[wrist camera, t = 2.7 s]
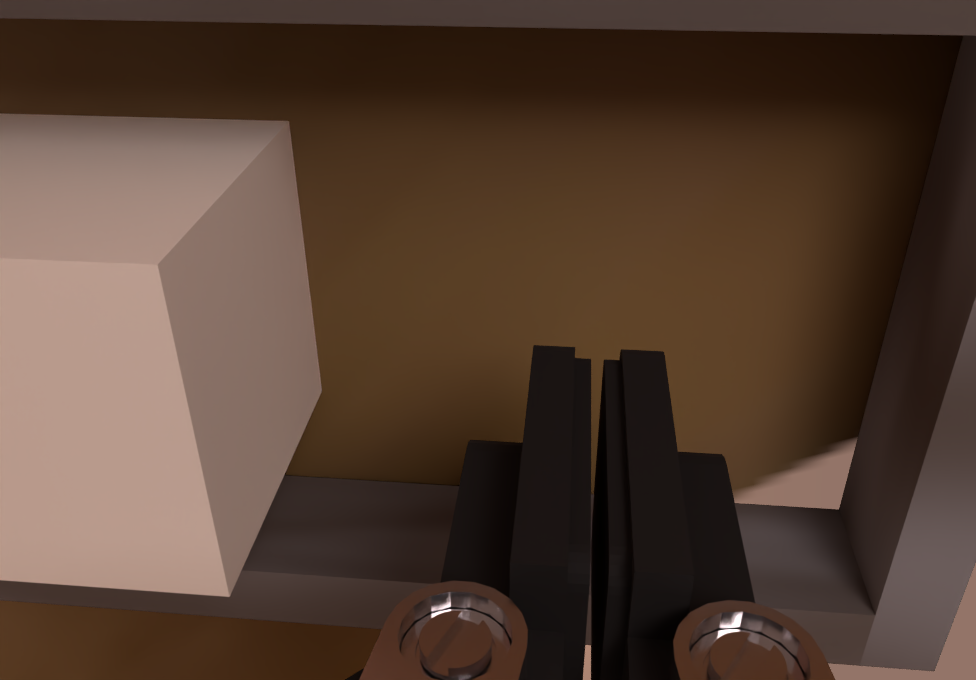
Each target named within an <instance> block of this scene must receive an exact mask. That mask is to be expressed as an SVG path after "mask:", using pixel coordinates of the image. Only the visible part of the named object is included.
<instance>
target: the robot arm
mask: <svg viewBox="0 0 976 680" xmlns="http://www.w3.org/2000/svg"><path fill="white" fill-rule="evenodd" d="M590 564H591V680H835V678H834V676H833V674H832V672H831V669H830V667H829V665H828V663H827V661H826V659H825V656H824V654H823V652H822V651H821V649H820V648H819V646H818V645H817V643H816V642H815V640H814V639H813V637H812V636H811V635H810V634H809V633H808V632H807V631H806V630H805V629H803V628H802V627H801V626H800V625H799V624H798V623H797V622H796V621H794V620H793V619H791V618H789V617H787V616H786V615H784V614H782V613H780V612H778V611H777V610H775V609H773V608H769V607H766V606H763V605H759V604H756V603H755V599H754V594H753V589H752V584H751V579H750V575H749V570H748V565H747V560H746V555H745V551H744V546H743V541H742V536H741V531H740V527H739V522H738V517H737V512H736V507H735V503H734V498H733V493H732V488H731V483H730V479H729V474H728V469H727V464H726V461H725V458H724V456H723V455H722V454H706V453H689V452H678V451H677V443H676V436H675V428H674V421H673V414H672V406H671V399H670V392H669V384H668V377H667V369H666V362H665V355H664V352H663V351H642V350H622V349H621V352H620V360H604V365H603V377H602V391H601V405H600V419H599V432H598V446H597V460H596V473H595V487H594V501H593V515H592V533H591V359H581V358H575V347H559V346H539V345H534V347H533V355H532V364H531V374H530V383H529V392H528V401H527V410H526V419H525V429H524V438H523V443H515V442H498V441H481V440H470V441H469V442H468V446H467V449H466V454H465V459H464V465H463V470H462V475H461V480H460V485H459V490H458V495H457V500H456V505H455V510H454V515H453V520H452V525H451V531H450V536H449V541H448V546H447V551H446V556H445V561H444V566H443V571H442V576H441V581H440V583H436V584H431V585H429V586H426V587H424V588H421V589H419V590H417V591H414V592H412V593H411V594H410V595H408V596H407V597H406V598H405V599H403V600H402V601H401V602H400V603H398V604H397V605H396V607H395V608H394V609H393V611H392V612H391V614H390V615H389V617H388V618H387V620H386V622H385V624H384V626H383V628H382V630H381V633H380V635H379V637H378V639H377V641H376V644H375V646H374V648H373V650H372V652H371V655H370V657H369V659H368V661H367V663H366V666H365V668H363V669H362V670H360V671H358V672H357V673H355V674H354V675H352V676H350V677H349V678H347V679H345V680H583V667H584V654H585V641H586V627H587V614H588V600H589V586H590Z"/></svg>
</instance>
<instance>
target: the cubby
mask: <svg viewBox="0 0 976 680" xmlns="http://www.w3.org/2000/svg"><path fill="white" fill-rule="evenodd" d="M0 18H14V19H70V20H127V21H183V22H239V23H295V24H352V25H408V26H464V27H521V28H577V29H633V30H690V31H746V32H802V33H858V34H915V35H963V38H962V42H961V46H960V50H959V53H958V57H957V61H956V65H955V69H954V72H953V76H952V80H951V84H950V88H949V92H948V95H947V99H946V103H945V107H944V111H943V115H942V118H941V122H940V126H939V130H938V134H937V137H936V141H935V145H934V149H933V153H932V157H931V160H930V164H929V168H928V172H927V176H926V179H925V183H924V187H923V191H922V195H921V199H920V202H919V206H918V210H917V214H916V218H915V222H914V225H913V229H912V233H911V237H910V241H909V244H908V248H907V252H906V256H905V260H904V264H903V267H902V271H901V275H900V279H899V283H898V286H897V290H896V294H895V298H894V302H893V306H892V309H891V313H890V317H889V321H888V325H887V329H886V332H885V336H884V340H883V344H882V348H881V351H880V355H879V359H878V363H877V367H876V371H875V374H874V378H873V382H872V386H871V390H870V393H869V397H868V401H867V405H866V409H865V413H864V416H863V420H862V424H861V428H860V432H859V435H858V439H857V443H856V447H855V451H854V455H853V459H852V462H851V467H850V470H849V474H848V478H847V481H846V485H845V489H844V493H843V497H842V500H841V504H840V508H839V510H835V509H820V508H803V507H787V506H771V505H755V504H739V503H735V507H736V512H737V517H738V522H739V527H740V531H741V536H742V541H743V546H744V551H745V555H746V560H747V565H748V570H749V575H750V579H751V584H752V589H753V594H754V599H755V603H756V604H759V605H763V606H766V607H769V608H773V609H775V610H777V611H778V612H780V613H782V614H784V615H786V616H787V617H789V618H791V619H793V620H794V621H796V622H797V623H798V624H799V625H800V626H801V627H802V628H803V629H805V630H806V631H807V632H808V633H809V634H810V635H811V636H812V637H813V639H814V640H815V642H816V643H817V645H818V646H819V648H820V649H821V651H822V652H823V654H824V656H825V659H826V661H827V663H833V664H847V665H859V666H872V667H885V668H899V669H911V670H925V671H935V668H936V665H937V663H938V660H939V657H940V655H941V652H942V649H943V647H944V644H945V642H946V639H947V636H948V633H949V631H950V629H951V626H952V623H953V620H954V618H955V615H956V613H957V610H958V607H959V605H960V602H961V600H962V597H963V594H964V592H965V589H966V586H967V584H968V581H969V578H970V576H971V573H972V571H973V568H974V566H975V563H976V0H0ZM458 490H459V486H448V485H432V484H416V483H399V482H383V481H367V480H351V479H335V478H319V477H302V476H286V475H284V477H283V479H282V481H281V483H280V486H279V488H278V490H277V492H276V495H275V497H274V499H273V501H272V504H271V506H270V508H269V510H268V512H267V515H266V517H265V519H264V521H263V524H262V526H261V528H260V530H259V533H258V535H257V537H256V539H255V541H254V544H253V546H252V548H251V550H250V553H249V555H248V557H247V559H246V561H245V564H244V566H243V568H242V570H241V573H240V575H239V577H238V579H237V582H236V584H235V586H234V588H233V590H232V593H231V595H230V597H225V596H211V595H197V594H183V593H170V592H156V591H142V590H128V589H115V588H101V587H87V586H73V585H60V584H46V583H32V582H18V581H5V580H0V600H4V601H18V602H31V603H44V604H57V605H70V606H83V607H96V608H110V609H123V610H136V611H149V612H162V613H175V614H188V615H202V616H215V617H228V618H241V619H254V620H267V621H280V622H294V623H307V624H320V625H333V626H346V627H359V628H372V629H382V628H383V626H384V624H385V622H386V620H387V618H388V617H389V615H390V614H391V612H392V611H393V609H394V608H395V607H396V605H397V604H398V603H400V602H401V601H402V600H403V599H405V598H406V597H407V596H408V595H410V594H411V593H412V592H414V591H417V590H419V589H421V588H424V587H426V586H429V585H431V584H436V583H440V581H441V576H442V571H443V566H444V561H445V556H446V551H447V546H448V541H449V536H450V531H451V525H452V520H453V515H454V510H455V505H456V500H457V495H458ZM593 501H594V494H591V533H592V515H593ZM585 645H591V564H590V586H589V600H588V614H587V627H586V641H585Z"/></svg>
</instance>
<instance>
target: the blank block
mask: <svg viewBox="0 0 976 680" xmlns="http://www.w3.org/2000/svg"><path fill="white" fill-rule="evenodd" d="M321 392H322V387H321V379H320V371H319V363H318V355H317V346H316V338H315V330H314V322H313V314H312V305H311V297H310V289H309V281H308V273H307V264H306V256H305V248H304V240H303V232H302V224H301V215H300V207H299V199H298V191H297V183H296V174H295V166H294V158H293V150H292V142H291V133H290V125H289V121H269V120H231V119H193V118H155V117H117V116H79V115H41V114H3V113H0V580H5V581H18V582H32V583H46V584H60V585H73V586H87V587H101V588H115V589H128V590H142V591H156V592H170V593H183V594H197V595H211V596H225V597H230V595H231V593H232V590H233V588H234V586H235V584H236V582H237V579H238V577H239V575H240V573H241V570H242V568H243V566H244V564H245V561H246V559H247V557H248V555H249V553H250V550H251V548H252V546H253V544H254V541H255V539H256V537H257V535H258V533H259V530H260V528H261V526H262V524H263V521H264V519H265V517H266V515H267V512H268V510H269V508H270V506H271V504H272V501H273V499H274V497H275V495H276V492H277V490H278V488H279V486H280V483H281V481H282V479H283V477H284V475H285V472H286V470H287V468H288V466H289V463H290V461H291V459H292V457H293V455H294V452H295V450H296V448H297V446H298V443H299V441H300V439H301V437H302V434H303V432H304V430H305V428H306V426H307V423H308V421H309V419H310V417H311V414H312V412H313V410H314V408H315V405H316V403H317V401H318V399H319V397H320V394H321Z"/></svg>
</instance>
